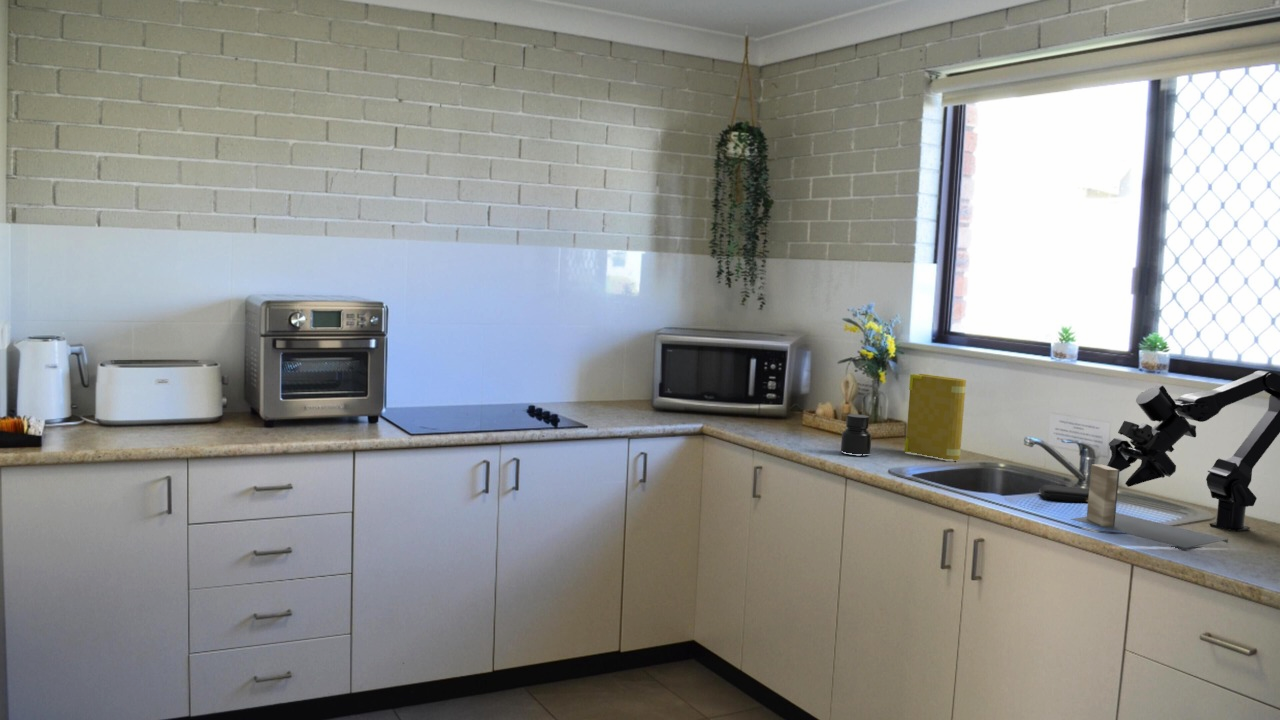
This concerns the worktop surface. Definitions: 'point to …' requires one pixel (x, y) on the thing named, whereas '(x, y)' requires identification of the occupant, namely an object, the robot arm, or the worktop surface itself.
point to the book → (935, 416)
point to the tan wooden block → (1103, 494)
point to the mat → (1158, 532)
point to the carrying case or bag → (1065, 494)
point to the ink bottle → (856, 435)
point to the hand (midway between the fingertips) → (1114, 480)
